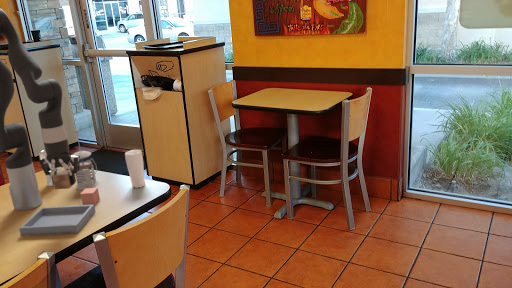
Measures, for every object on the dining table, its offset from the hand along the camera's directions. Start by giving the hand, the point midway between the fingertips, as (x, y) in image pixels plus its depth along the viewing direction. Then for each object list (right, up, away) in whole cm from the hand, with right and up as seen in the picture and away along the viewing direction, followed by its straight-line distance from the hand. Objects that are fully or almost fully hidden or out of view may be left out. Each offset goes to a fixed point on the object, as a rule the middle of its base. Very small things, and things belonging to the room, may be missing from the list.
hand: (65, 184), depth 161 cm
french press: (-5, -4, +36) cm, 37 cm away
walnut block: (0, -1, 0) cm, 0 cm away
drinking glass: (+18, -4, +31) cm, 36 cm away
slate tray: (-3, -14, +3) cm, 15 cm away
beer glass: (-22, -3, +41) cm, 46 cm away
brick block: (+2, -9, +19) cm, 21 cm away
